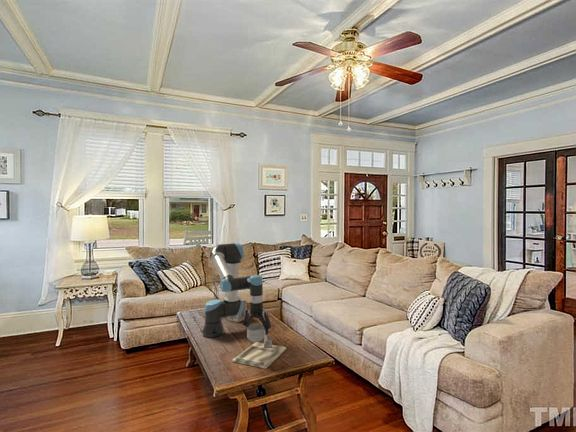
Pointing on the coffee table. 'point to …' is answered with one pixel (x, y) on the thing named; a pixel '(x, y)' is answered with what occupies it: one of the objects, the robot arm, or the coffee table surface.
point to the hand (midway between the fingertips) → (257, 338)
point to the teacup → (255, 332)
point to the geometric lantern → (217, 285)
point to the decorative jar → (242, 315)
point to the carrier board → (260, 354)
